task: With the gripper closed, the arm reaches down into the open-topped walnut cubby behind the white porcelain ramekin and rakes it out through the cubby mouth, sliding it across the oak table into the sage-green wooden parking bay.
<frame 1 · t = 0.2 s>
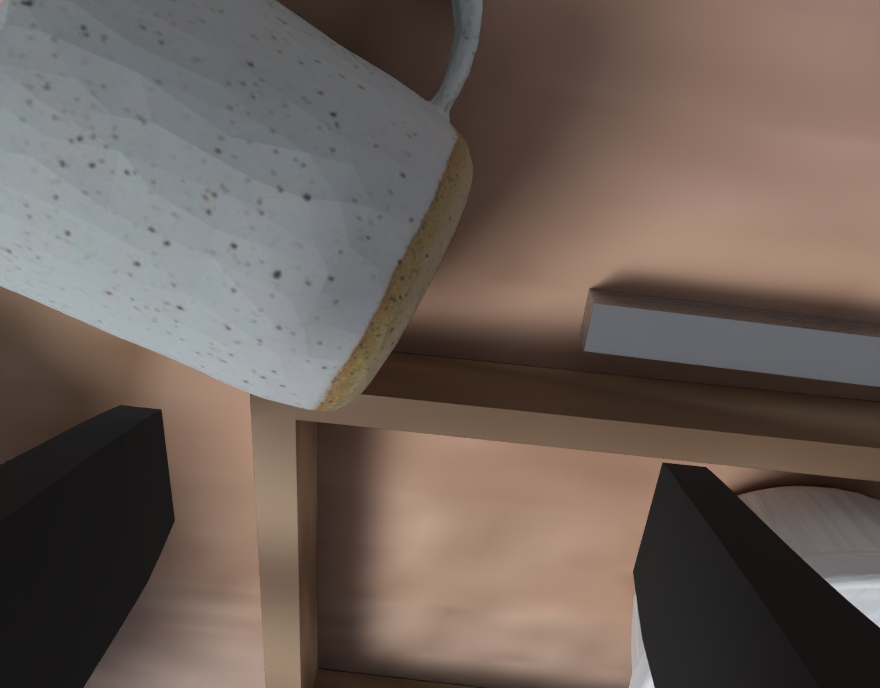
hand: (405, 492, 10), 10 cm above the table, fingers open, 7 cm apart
ramekin: (772, 583, 23), on the table
ceramic mug: (301, 104, 18), on the table
grey metal bar: (796, 332, 19), on the table
walnut cubby: (615, 573, 23), on the table
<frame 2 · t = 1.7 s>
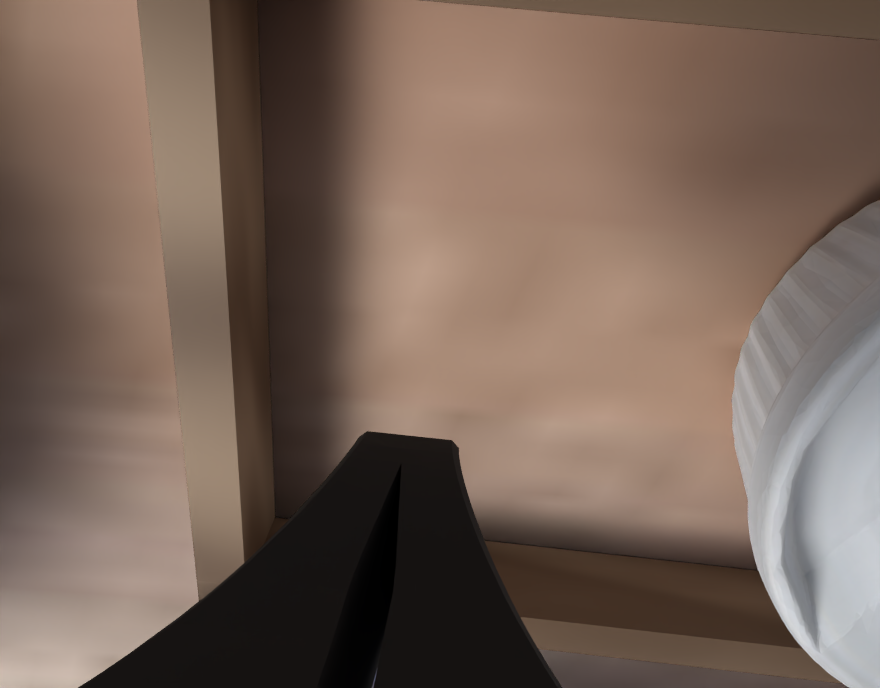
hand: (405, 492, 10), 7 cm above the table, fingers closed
walnut cubby: (705, 343, 16), on the table
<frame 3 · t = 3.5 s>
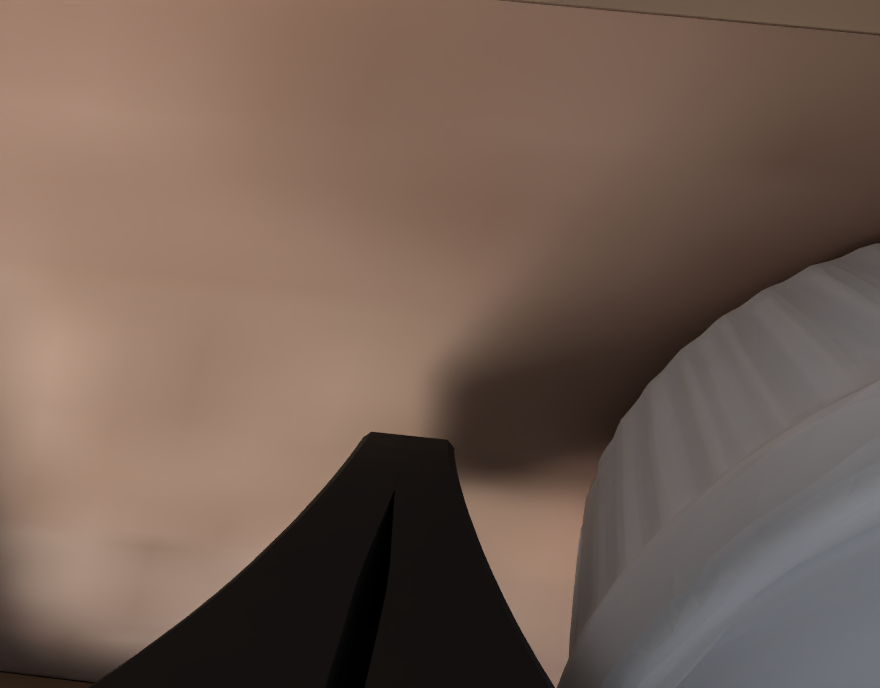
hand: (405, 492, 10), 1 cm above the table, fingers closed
walnut cubby: (467, 459, 11), on the table
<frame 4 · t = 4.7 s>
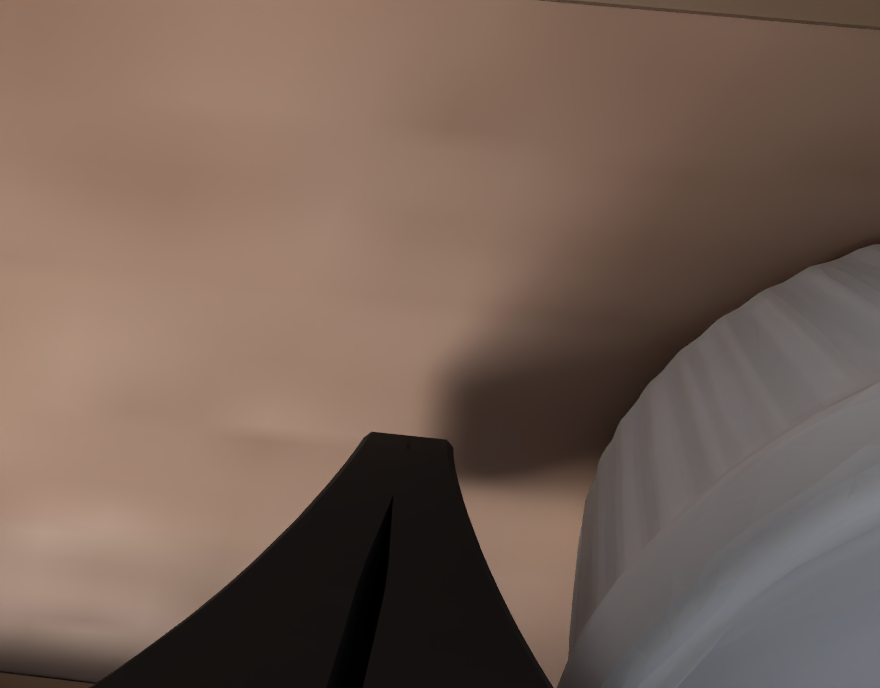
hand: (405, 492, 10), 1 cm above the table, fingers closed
walnut cubby: (202, 429, 11), on the table
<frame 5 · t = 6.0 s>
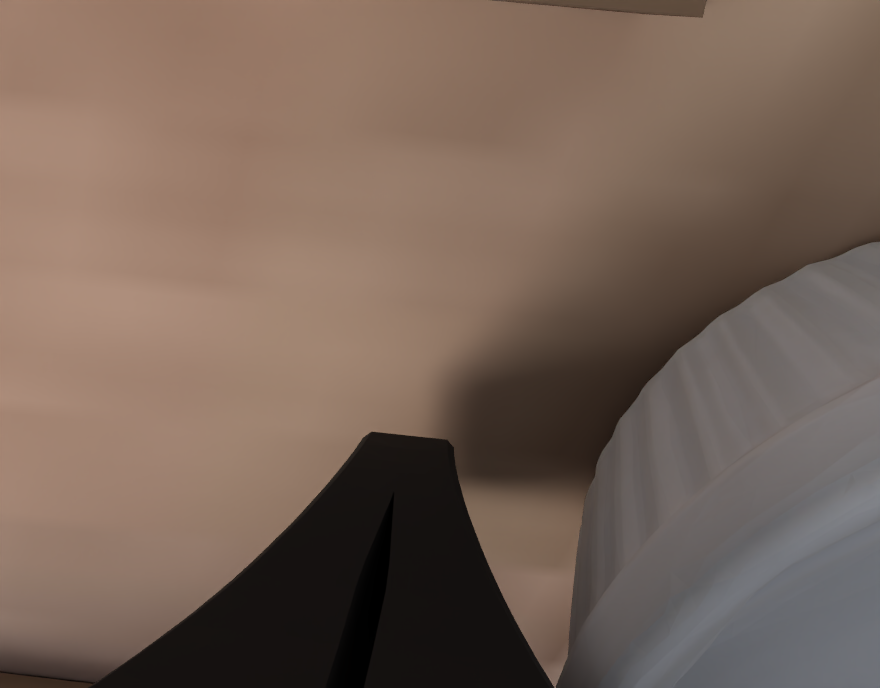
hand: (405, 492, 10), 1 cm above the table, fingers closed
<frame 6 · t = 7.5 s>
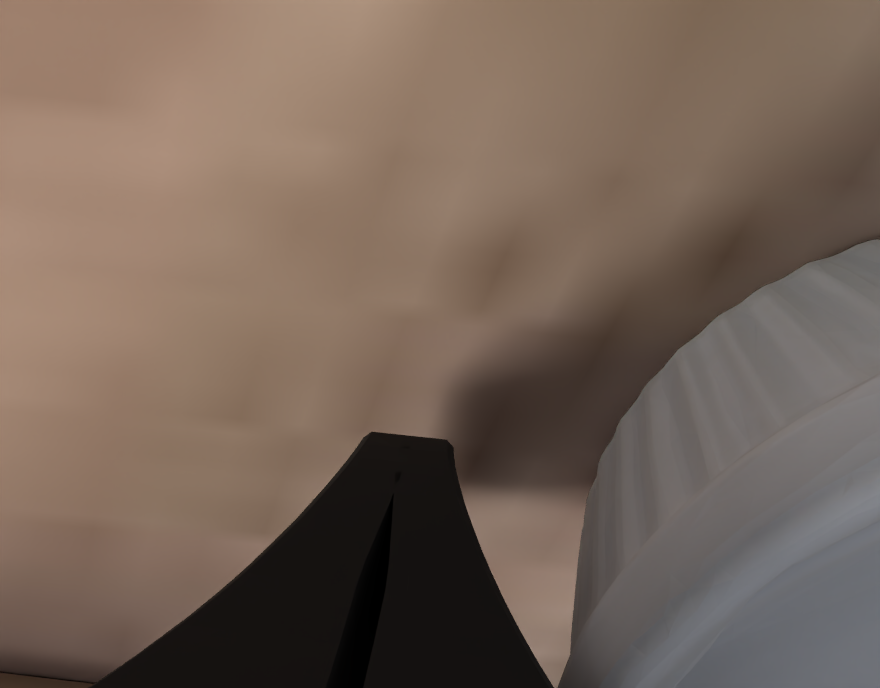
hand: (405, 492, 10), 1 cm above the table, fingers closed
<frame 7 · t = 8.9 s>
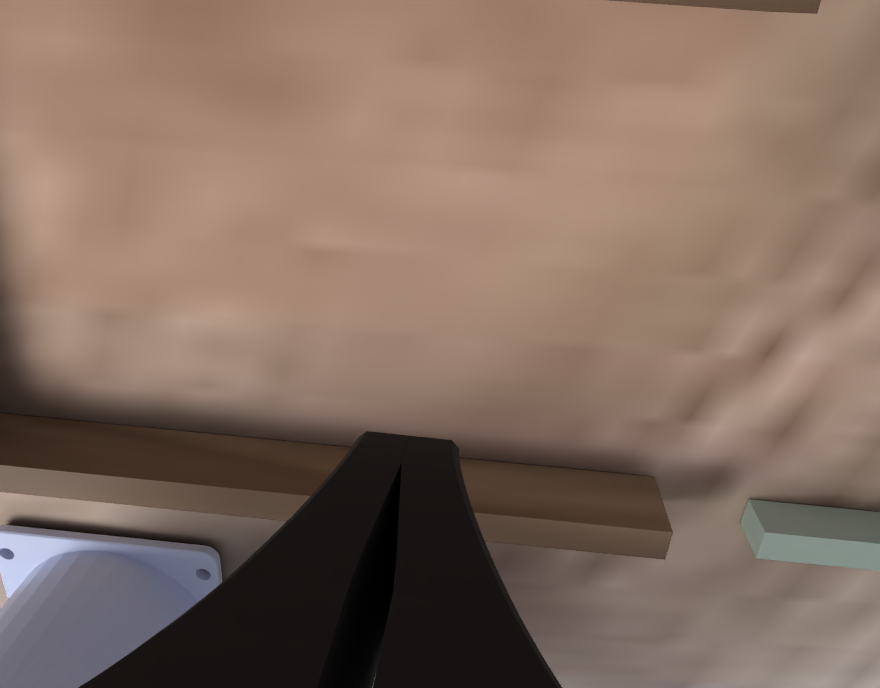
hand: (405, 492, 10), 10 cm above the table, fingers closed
walnut cubby: (284, 245, 19), on the table
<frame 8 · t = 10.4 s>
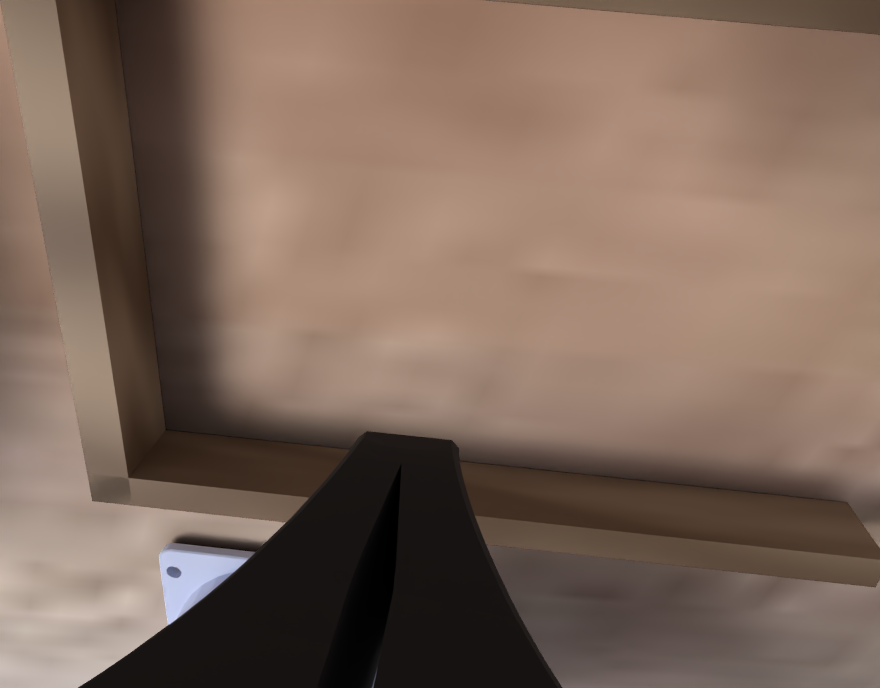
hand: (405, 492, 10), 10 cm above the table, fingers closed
walnut cubby: (507, 269, 19), on the table
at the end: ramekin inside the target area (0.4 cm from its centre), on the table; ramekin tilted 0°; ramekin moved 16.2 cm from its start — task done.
